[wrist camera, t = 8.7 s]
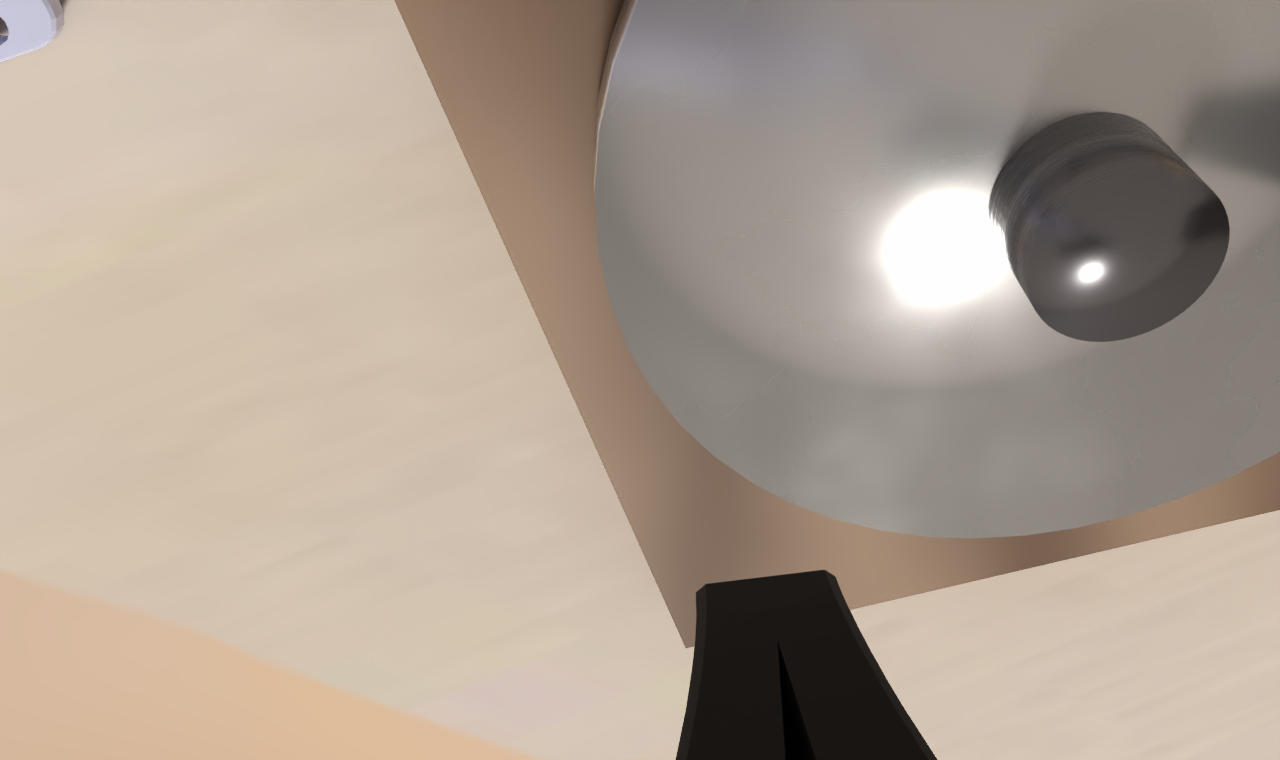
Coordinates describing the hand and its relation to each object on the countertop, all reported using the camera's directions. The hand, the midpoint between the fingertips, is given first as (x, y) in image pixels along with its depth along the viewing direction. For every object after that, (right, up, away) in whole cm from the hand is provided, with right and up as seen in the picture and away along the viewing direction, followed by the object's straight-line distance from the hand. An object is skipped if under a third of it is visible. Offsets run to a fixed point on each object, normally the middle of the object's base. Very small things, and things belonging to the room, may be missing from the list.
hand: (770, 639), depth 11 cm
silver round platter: (+5, +7, +5) cm, 10 cm away
